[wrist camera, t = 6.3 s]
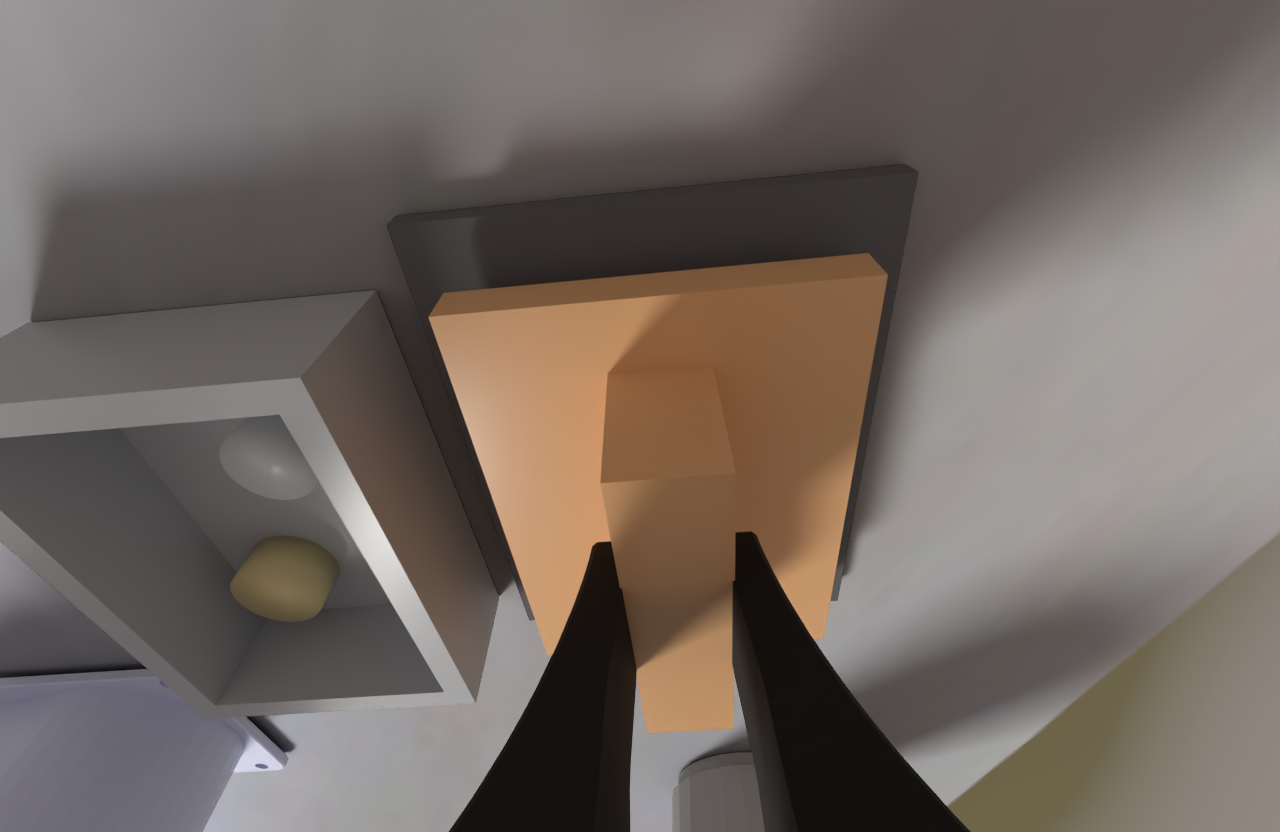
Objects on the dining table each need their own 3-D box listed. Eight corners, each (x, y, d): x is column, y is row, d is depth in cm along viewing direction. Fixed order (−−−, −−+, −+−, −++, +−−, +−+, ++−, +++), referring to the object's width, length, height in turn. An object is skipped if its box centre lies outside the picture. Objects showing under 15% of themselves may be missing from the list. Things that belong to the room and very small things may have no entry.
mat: (532, 604, 19) (529, 620, 19) (397, 215, 11) (386, 225, 11) (832, 584, 19) (837, 600, 18) (905, 164, 11) (918, 172, 10)
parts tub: (267, 613, 19) (205, 718, 16) (28, 323, 13) (-144, 416, 10) (499, 597, 19) (475, 703, 16) (376, 289, 12) (299, 377, 9)
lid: (554, 602, 18) (533, 767, 14) (454, 276, 11) (364, 419, 8) (808, 585, 18) (856, 750, 14) (855, 238, 11) (972, 368, 7)
